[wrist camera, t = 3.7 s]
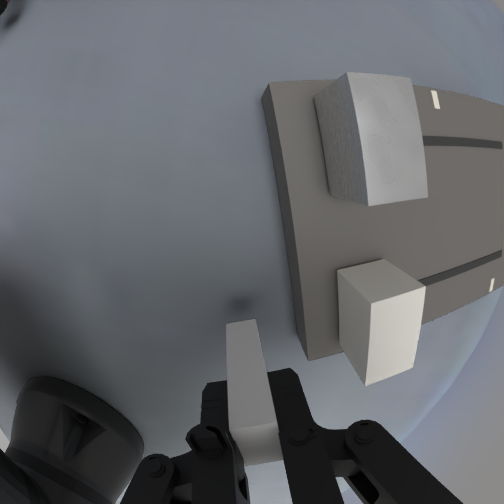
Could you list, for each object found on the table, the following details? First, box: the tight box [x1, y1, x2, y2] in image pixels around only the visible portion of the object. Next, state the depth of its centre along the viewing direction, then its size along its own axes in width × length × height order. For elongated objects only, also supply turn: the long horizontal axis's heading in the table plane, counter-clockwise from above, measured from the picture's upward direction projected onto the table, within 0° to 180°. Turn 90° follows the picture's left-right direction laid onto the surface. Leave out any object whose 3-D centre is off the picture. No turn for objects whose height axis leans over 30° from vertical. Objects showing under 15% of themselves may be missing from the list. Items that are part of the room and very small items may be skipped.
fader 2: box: [337, 259, 426, 386], centre depth 13 cm, size 3×5×4 cm, turn 10°
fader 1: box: [314, 72, 428, 206], centre depth 10 cm, size 3×5×4 cm, turn 10°
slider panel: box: [262, 80, 504, 361], centre depth 16 cm, size 21×16×3 cm
